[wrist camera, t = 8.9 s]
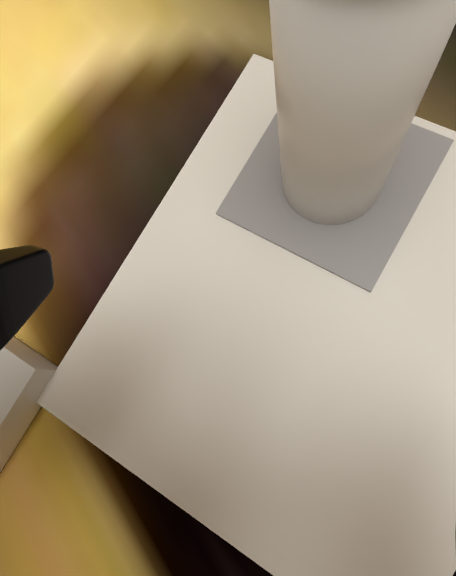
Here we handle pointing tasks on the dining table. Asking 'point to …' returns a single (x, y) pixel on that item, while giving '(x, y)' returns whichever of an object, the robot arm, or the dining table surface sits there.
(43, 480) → the dining table surface
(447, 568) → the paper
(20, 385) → the button housing
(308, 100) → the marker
